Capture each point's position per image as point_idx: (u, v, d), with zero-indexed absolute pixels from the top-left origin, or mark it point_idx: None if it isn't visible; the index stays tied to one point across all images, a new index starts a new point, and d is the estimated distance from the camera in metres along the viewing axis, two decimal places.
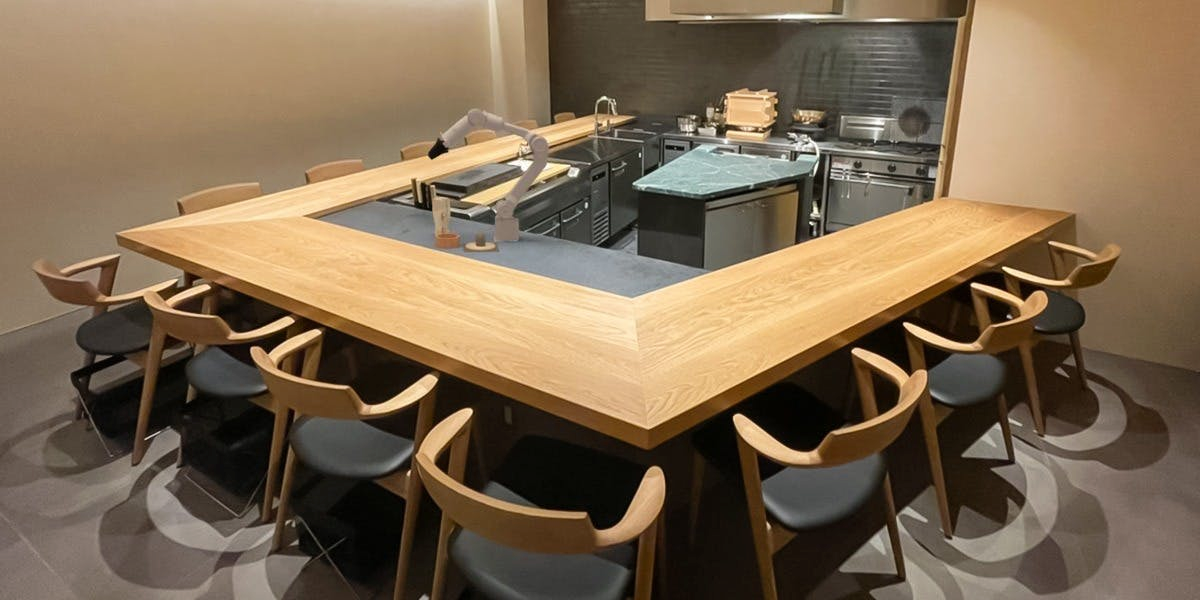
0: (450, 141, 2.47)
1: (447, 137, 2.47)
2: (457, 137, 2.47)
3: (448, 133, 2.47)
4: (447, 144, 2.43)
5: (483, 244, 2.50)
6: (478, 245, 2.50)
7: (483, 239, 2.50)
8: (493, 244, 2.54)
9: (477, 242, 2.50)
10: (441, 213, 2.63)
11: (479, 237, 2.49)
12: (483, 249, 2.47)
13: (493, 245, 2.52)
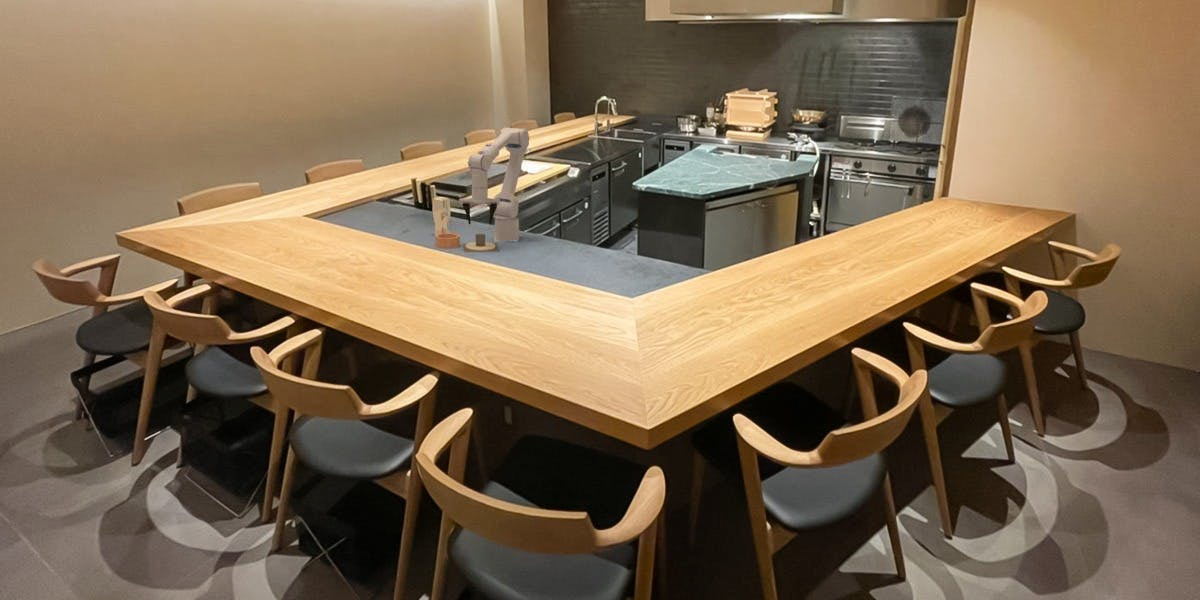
0: None
1: (487, 198, 2.45)
2: None
3: (485, 195, 2.44)
4: (499, 201, 2.48)
5: (483, 244, 2.50)
6: (478, 245, 2.50)
7: (483, 239, 2.50)
8: (493, 244, 2.54)
9: (477, 242, 2.50)
10: (441, 213, 2.63)
11: (479, 237, 2.49)
12: (483, 249, 2.47)
13: (493, 245, 2.52)
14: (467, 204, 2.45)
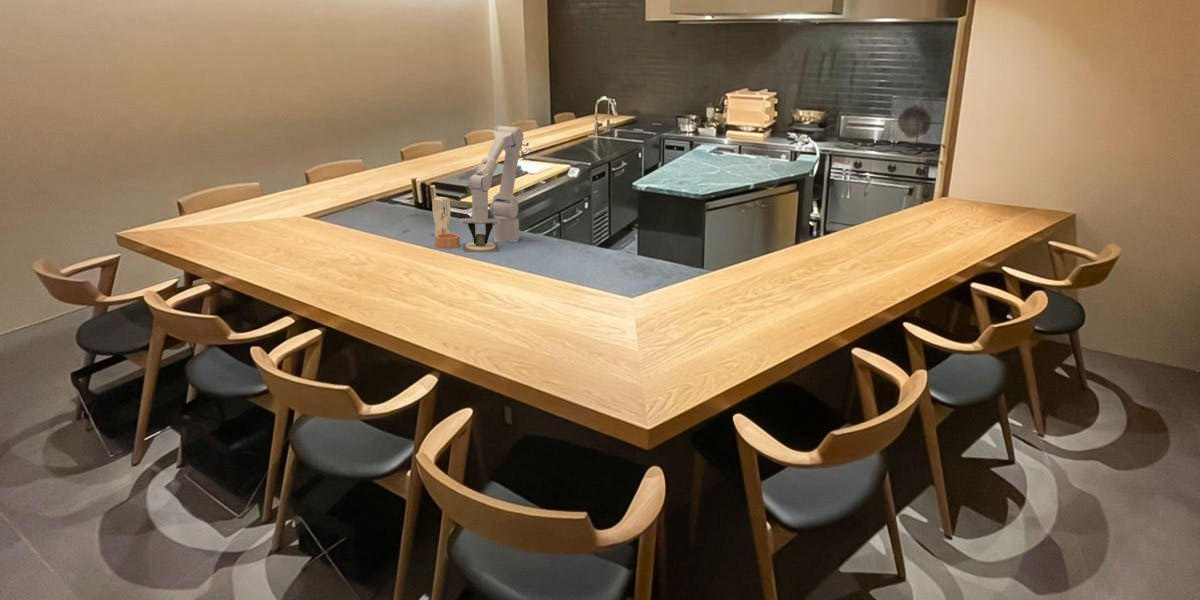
0: None
1: (487, 218, 2.48)
2: None
3: (485, 215, 2.47)
4: (499, 221, 2.51)
5: (483, 244, 2.50)
6: (478, 245, 2.50)
7: (483, 239, 2.50)
8: (493, 244, 2.54)
9: (477, 242, 2.50)
10: (441, 213, 2.63)
11: (479, 237, 2.49)
12: (483, 249, 2.47)
13: (493, 245, 2.53)
14: (468, 224, 2.47)
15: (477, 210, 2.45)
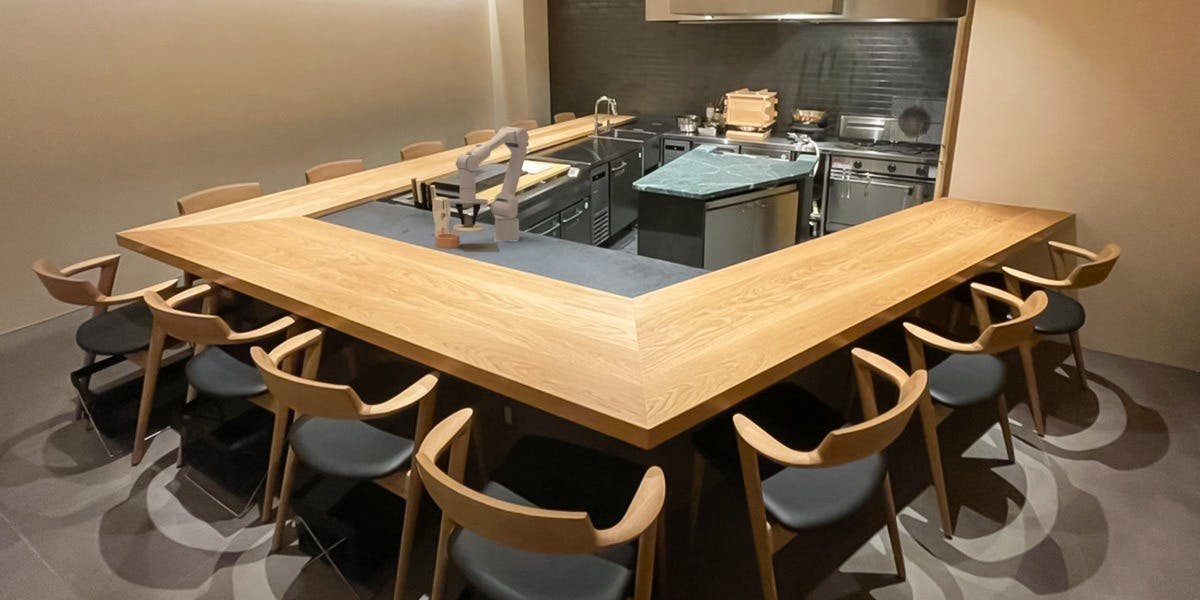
0: None
1: (475, 198, 2.46)
2: None
3: (473, 195, 2.45)
4: (487, 201, 2.49)
5: (471, 225, 2.48)
6: (466, 226, 2.48)
7: (471, 220, 2.48)
8: (481, 225, 2.52)
9: (465, 223, 2.48)
10: (441, 213, 2.63)
11: (467, 217, 2.47)
12: (471, 230, 2.45)
13: (481, 226, 2.51)
14: None
15: (464, 190, 2.43)
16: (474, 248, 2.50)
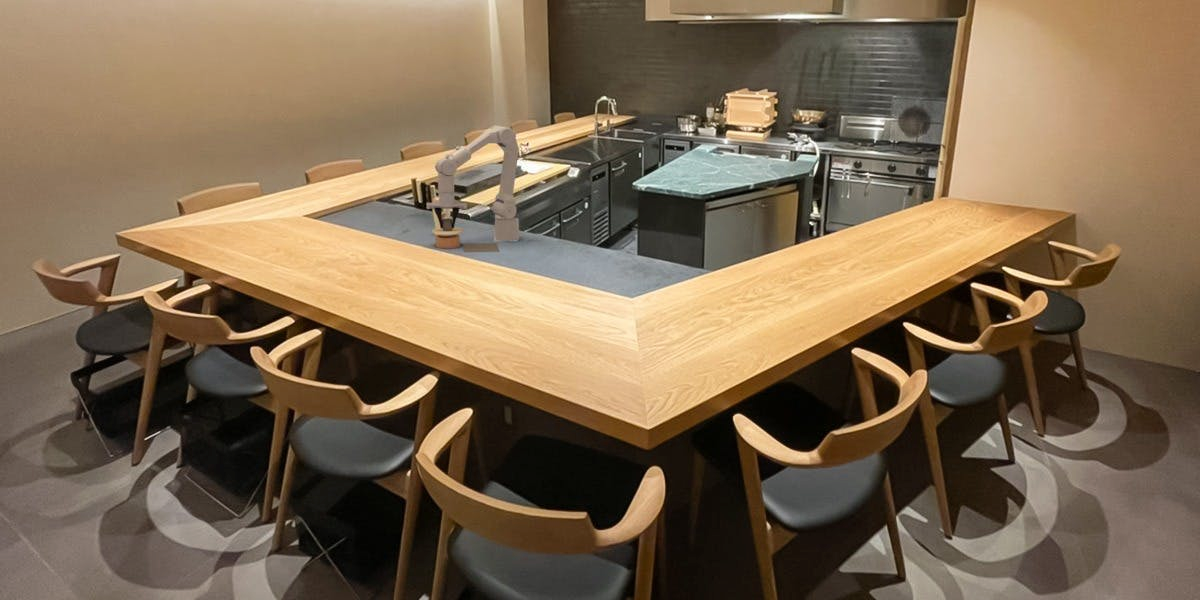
0: None
1: (453, 202, 2.47)
2: None
3: (452, 199, 2.46)
4: (466, 205, 2.50)
5: (450, 228, 2.50)
6: (445, 230, 2.49)
7: (450, 223, 2.49)
8: (460, 228, 2.53)
9: (444, 227, 2.49)
10: None
11: (445, 221, 2.48)
12: (450, 233, 2.46)
13: (460, 229, 2.52)
14: (434, 208, 2.47)
15: (443, 194, 2.44)
16: (474, 248, 2.50)
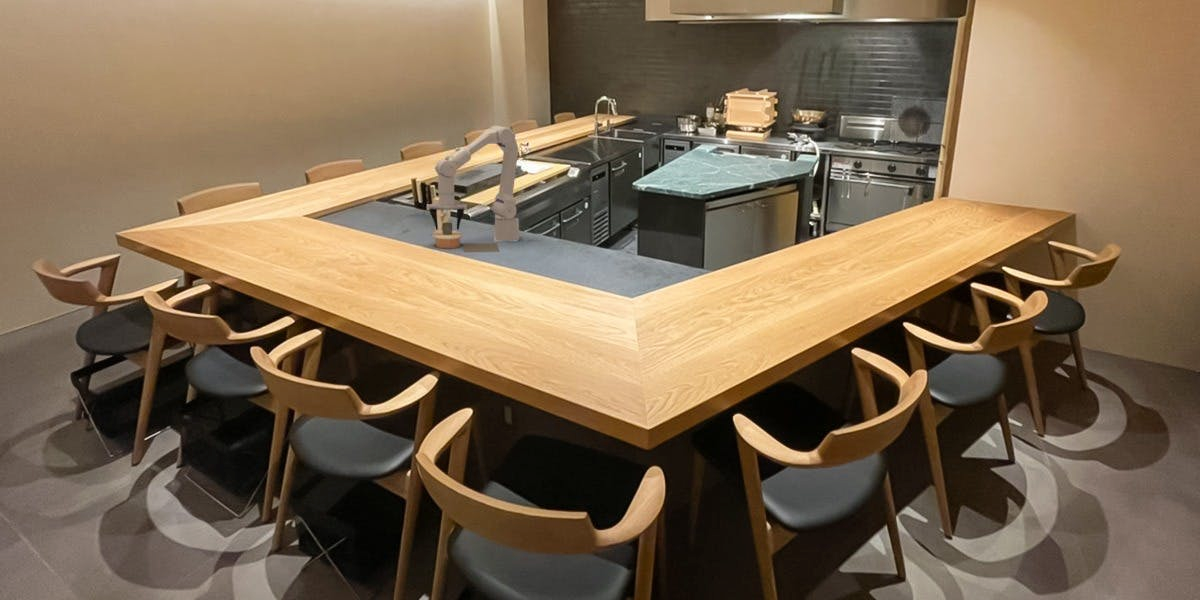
0: None
1: (453, 203, 2.47)
2: None
3: (452, 200, 2.46)
4: (466, 206, 2.50)
5: (450, 232, 2.50)
6: (445, 233, 2.50)
7: (450, 227, 2.50)
8: (460, 232, 2.54)
9: (444, 230, 2.50)
10: (441, 213, 2.63)
11: (446, 225, 2.49)
12: (450, 237, 2.47)
13: (460, 233, 2.52)
14: (434, 210, 2.47)
15: (443, 195, 2.44)
16: (474, 248, 2.50)
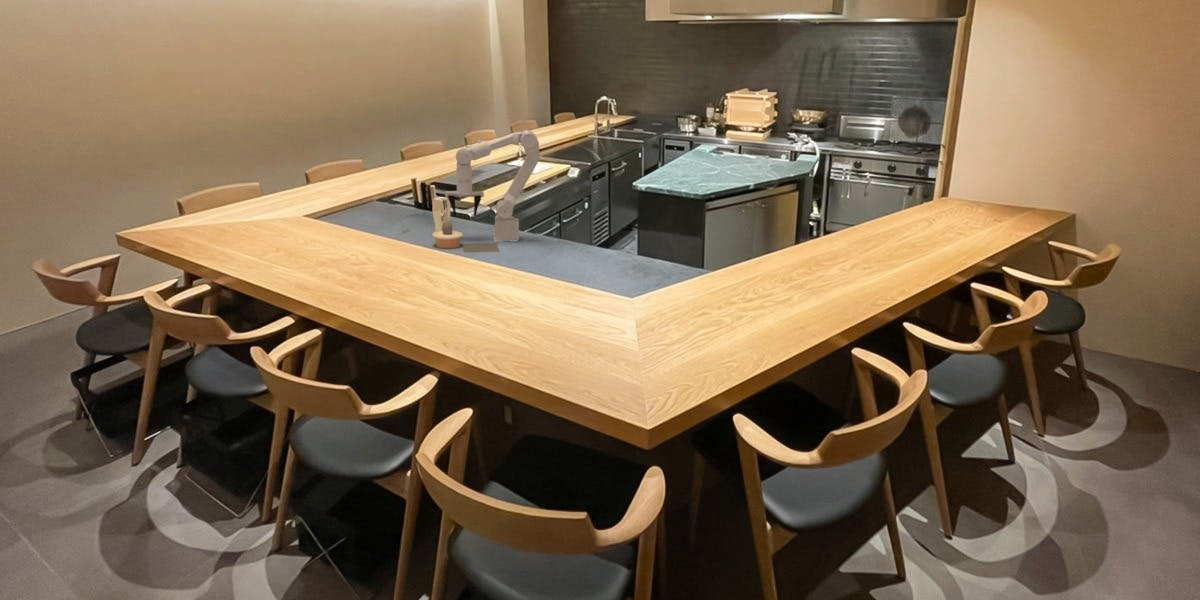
0: None
1: (471, 190, 2.57)
2: None
3: (469, 187, 2.56)
4: (483, 193, 2.60)
5: (450, 232, 2.50)
6: (445, 233, 2.50)
7: (450, 227, 2.50)
8: (460, 232, 2.54)
9: (444, 230, 2.50)
10: (441, 213, 2.63)
11: (446, 225, 2.49)
12: (450, 237, 2.47)
13: (460, 233, 2.52)
14: (452, 196, 2.56)
15: (461, 183, 2.54)
16: (474, 248, 2.50)
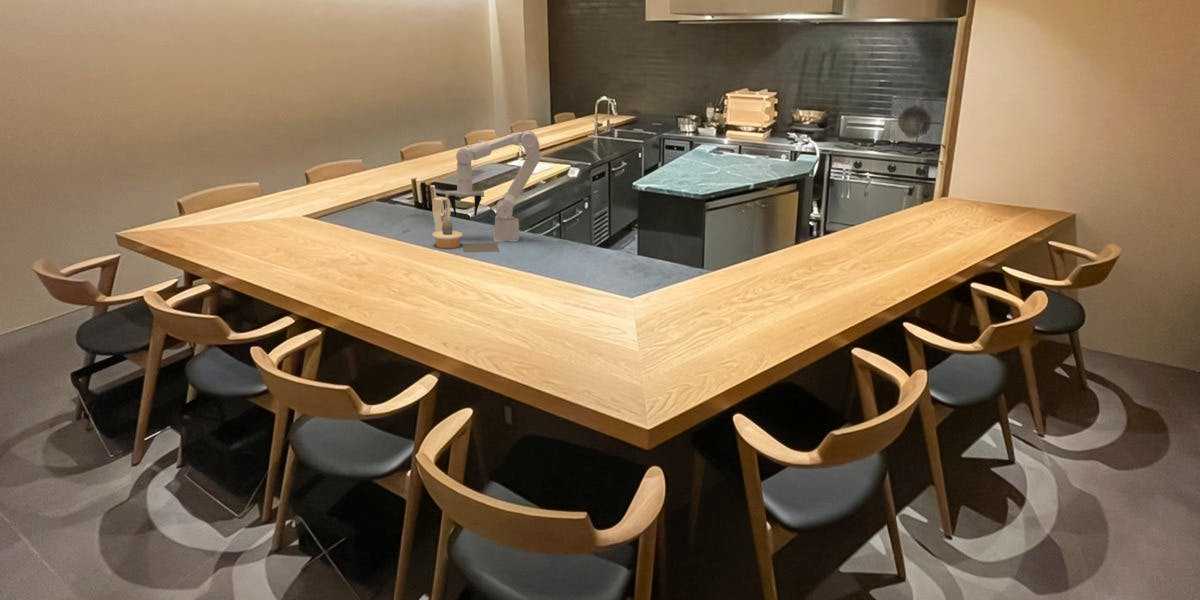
0: None
1: (471, 190, 2.57)
2: None
3: (470, 187, 2.56)
4: (483, 193, 2.60)
5: (450, 232, 2.50)
6: (445, 233, 2.50)
7: (450, 227, 2.50)
8: (460, 232, 2.54)
9: (444, 230, 2.50)
10: (441, 213, 2.63)
11: (446, 225, 2.49)
12: (450, 237, 2.47)
13: (460, 233, 2.52)
14: (453, 196, 2.57)
15: (461, 182, 2.54)
16: (474, 248, 2.50)
